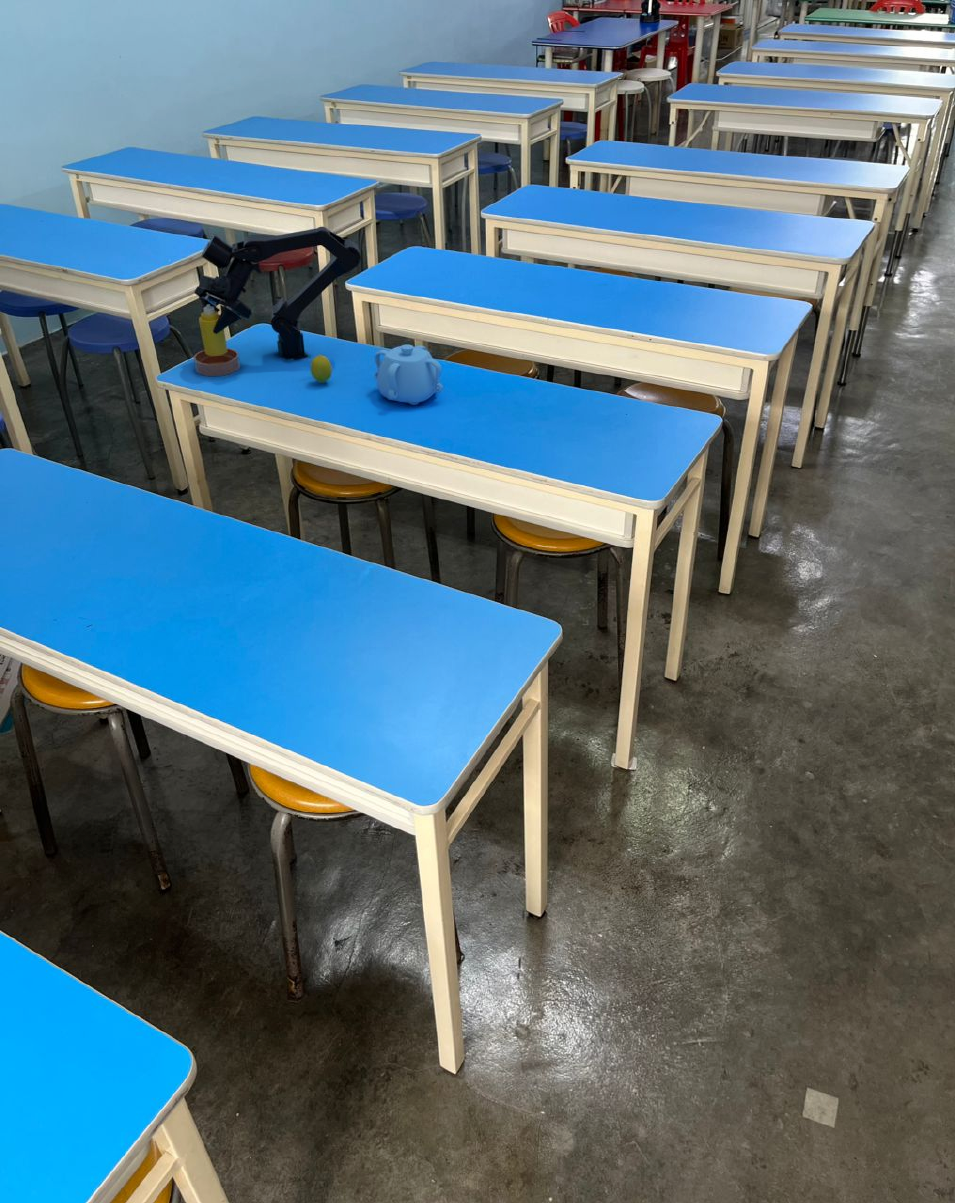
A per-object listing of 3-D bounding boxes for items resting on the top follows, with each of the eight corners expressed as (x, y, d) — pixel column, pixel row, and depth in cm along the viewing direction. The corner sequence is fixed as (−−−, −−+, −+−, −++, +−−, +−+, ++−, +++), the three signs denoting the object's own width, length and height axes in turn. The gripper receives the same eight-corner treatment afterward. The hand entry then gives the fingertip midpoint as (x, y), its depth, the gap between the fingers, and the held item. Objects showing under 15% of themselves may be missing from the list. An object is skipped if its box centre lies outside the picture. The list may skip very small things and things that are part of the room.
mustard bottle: (222, 346, 261) (214, 299, 253) (230, 352, 257) (223, 305, 249) (201, 350, 258) (193, 304, 250) (210, 357, 254) (201, 310, 247)
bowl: (229, 358, 268) (227, 344, 265) (247, 372, 260) (245, 358, 257) (189, 367, 262) (187, 353, 260) (206, 382, 254) (203, 368, 252)
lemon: (329, 388, 251) (326, 359, 247) (309, 386, 252) (306, 358, 248) (335, 380, 256) (333, 351, 251) (316, 378, 257) (313, 350, 252)
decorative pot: (433, 381, 256) (432, 332, 248) (445, 405, 243) (444, 355, 235) (374, 386, 253) (371, 337, 245) (383, 411, 240) (380, 360, 232)
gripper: (194, 255, 251) (165, 306, 251) (235, 270, 241) (206, 323, 241) (223, 277, 261) (196, 327, 261) (264, 293, 250) (236, 344, 250)
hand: (207, 330), depth 253 cm, fingers closed on mustard bottle, 6 cm apart
